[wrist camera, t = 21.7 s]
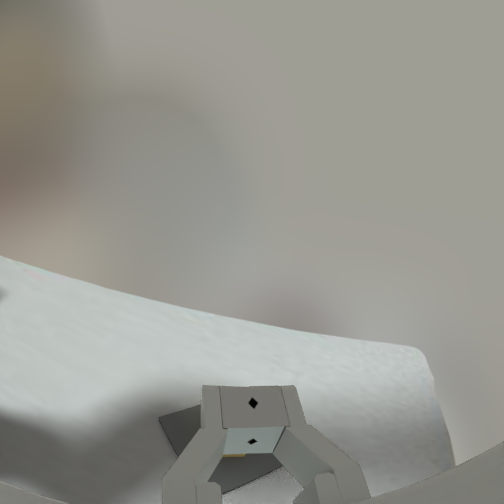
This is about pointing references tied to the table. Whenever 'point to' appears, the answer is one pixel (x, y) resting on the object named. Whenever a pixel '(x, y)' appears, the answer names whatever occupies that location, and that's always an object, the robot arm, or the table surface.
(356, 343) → the table surface
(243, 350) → the table surface
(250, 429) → the robot arm
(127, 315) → the table surface
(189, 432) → the mat
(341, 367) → the table surface
